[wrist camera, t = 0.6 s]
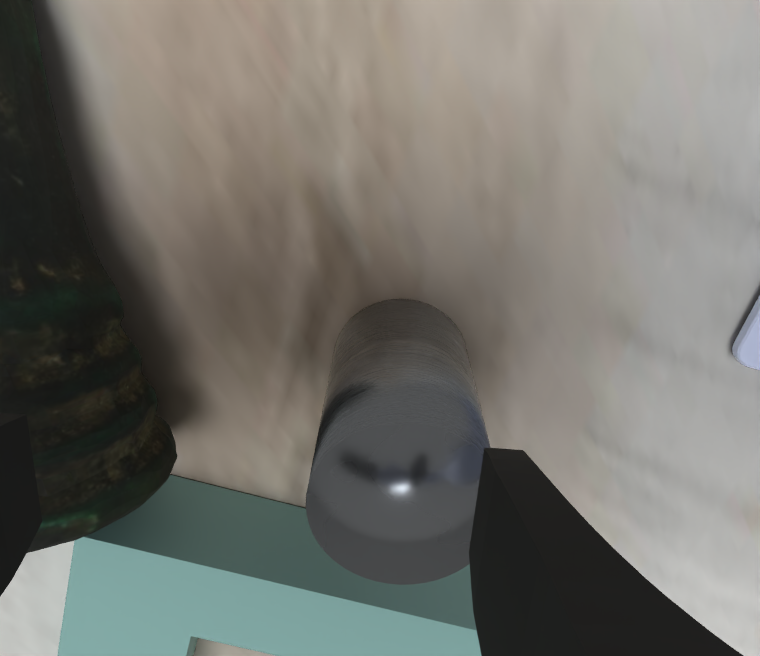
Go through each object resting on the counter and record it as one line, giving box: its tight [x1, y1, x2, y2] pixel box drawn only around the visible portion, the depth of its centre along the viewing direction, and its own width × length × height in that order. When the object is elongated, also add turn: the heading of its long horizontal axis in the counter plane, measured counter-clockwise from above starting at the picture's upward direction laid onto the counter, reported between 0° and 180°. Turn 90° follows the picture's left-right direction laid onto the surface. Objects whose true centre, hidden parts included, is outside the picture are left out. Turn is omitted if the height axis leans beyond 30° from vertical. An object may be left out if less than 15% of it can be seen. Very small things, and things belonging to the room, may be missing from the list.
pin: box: [306, 299, 490, 585], centre depth 17 cm, size 4×4×7 cm
